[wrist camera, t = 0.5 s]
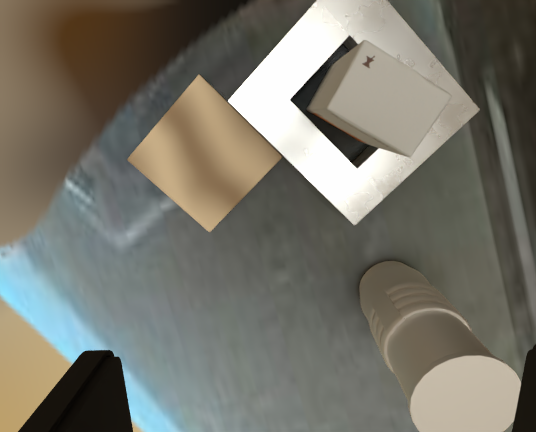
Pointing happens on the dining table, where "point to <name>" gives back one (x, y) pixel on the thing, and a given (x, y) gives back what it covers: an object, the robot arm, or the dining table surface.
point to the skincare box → (378, 100)
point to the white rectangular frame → (309, 136)
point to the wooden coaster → (204, 154)
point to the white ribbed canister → (436, 354)
